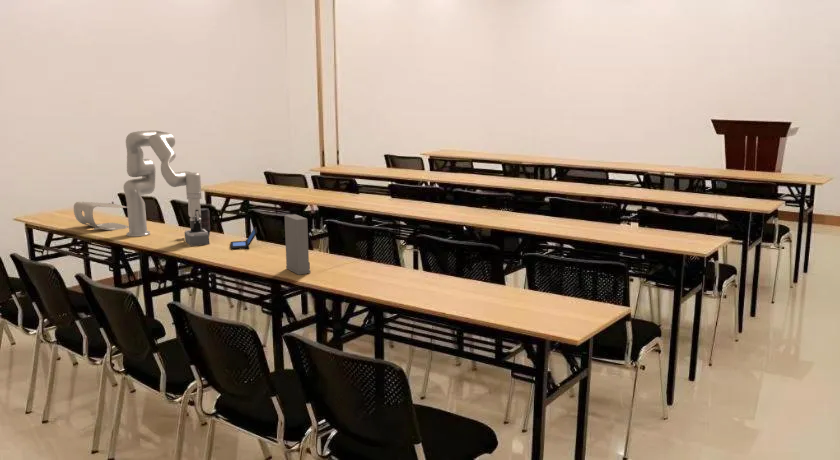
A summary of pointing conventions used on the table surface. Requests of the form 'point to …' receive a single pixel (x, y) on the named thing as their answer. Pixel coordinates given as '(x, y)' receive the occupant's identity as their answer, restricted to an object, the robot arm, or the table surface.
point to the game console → (244, 242)
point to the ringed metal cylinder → (193, 225)
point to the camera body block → (197, 237)
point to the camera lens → (205, 220)
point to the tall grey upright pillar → (297, 244)
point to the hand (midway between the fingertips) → (196, 229)
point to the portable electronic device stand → (88, 215)
